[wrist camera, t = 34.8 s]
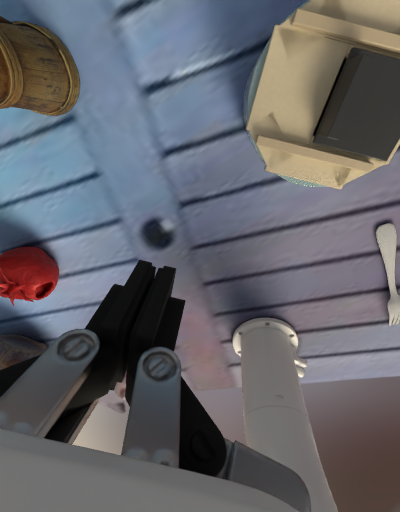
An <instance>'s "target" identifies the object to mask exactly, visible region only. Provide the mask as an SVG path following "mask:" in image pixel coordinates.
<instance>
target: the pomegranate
mask: <svg viewBox="0 0 400 512" xmlns="http://www.w3.org/2000/svg"><path fill="white" fill-rule="evenodd" d="M58 278H59V268H58V266H57V263H56V262H55V260H54V259H52V258H51V257H49V256H48V255H47V254H46V253H45V252H44V251H43V250H42V249H40V248H38V247H18V248H15V249H12V250H9V251H6V252H4V253H2V254H1V255H0V296H2V297H5V298H7V297H8V298H10V300H11V302H12V304H13V301H14V299H25V300H26V301H32V302H34V301H33V300H40V299H43V298H45V297H47V296H48V295H49V294H50V293H51V292H52V291H53V290H54V288H55V287H56V285H57V282H58ZM30 299H33V300H30ZM13 306H14V304H13Z"/></svg>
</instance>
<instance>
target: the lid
mask: <svg viewBox="0 0 400 512" xmlns="http://www.w3.org/2000/svg"><path fill="white" fill-rule="evenodd" d="M353 47H356V48H360V49H363V50H367V51H371V52H375V53H379V54H383V55H387V56H390V57H394V58H398V59H400V0H311V1H309V2H308V3H307V4H306V5H304V6H303V7H302V8H301V9H300V8H297V10H296V11H295V13H294V14H293V15H292V16H290V17H289V18H288V19H287V20H285V21H284V22H283V23H282V24H280V25H275V26H274V29H273V33H272V36H271V40H270V44H269V47H268V51H267V54H266V58H265V62H264V65H263V69H262V72H261V76H260V80H259V83H258V87H257V90H256V94H255V97H254V101H253V105H252V108H251V112H250V115H249V119H248V123H247V126H246V130H249V131H250V133H251V135H252V137H253V139H254V141H255V144H256V145H257V147H258V149H259V151H260V153H261V155H262V157H263V159H264V161H265V163H266V166H265V171H268V172H272V173H276V174H280V175H284V176H288V177H292V178H296V179H300V180H304V181H308V182H312V183H317V184H321V185H325V186H329V187H333V188H337V189H342V187H343V185H344V184H346V183H348V182H350V181H352V180H354V179H356V178H358V177H360V176H362V175H364V174H366V173H370V171H372V170H374V169H376V168H378V167H380V166H381V165H383V164H386V165H388V163H389V162H390V160H391V158H392V156H393V155H394V153H395V151H396V150H397V148H398V146H399V145H400V139H399V141H398V143H397V144H396V146H395V148H394V149H393V151H392V153H391V155H390V156H389V158H388V160H387V161H383V160H379V159H375V158H371V157H367V156H363V155H359V154H355V153H351V152H347V151H343V150H339V149H335V148H331V147H327V146H323V145H319V144H315V143H313V139H314V137H315V136H313V133H314V131H315V128H316V126H317V123H318V121H319V118H320V116H321V114H322V111H323V109H324V106H325V104H326V101H327V99H328V97H329V94H330V92H331V89H332V87H333V84H334V82H335V79H336V77H337V75H338V72H339V70H340V67H341V65H342V62H343V60H344V58H345V59H347V57H348V55H349V53H350V50H351V48H353Z"/></svg>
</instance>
